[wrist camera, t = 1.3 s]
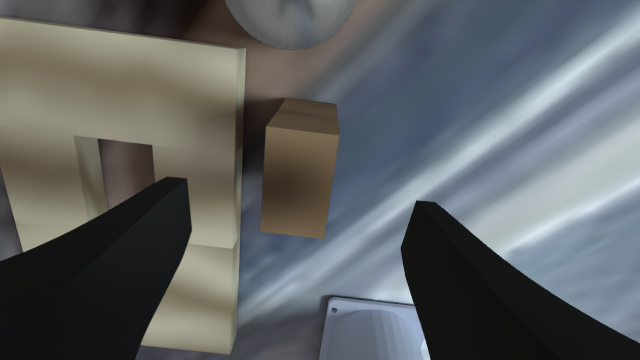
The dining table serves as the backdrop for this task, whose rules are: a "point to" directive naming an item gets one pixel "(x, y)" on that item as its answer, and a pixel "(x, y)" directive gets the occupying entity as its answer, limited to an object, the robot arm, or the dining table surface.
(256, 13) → the metal round peg
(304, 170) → the walnut flat peg
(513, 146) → the dining table surface
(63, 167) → the slot board
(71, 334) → the robot arm
